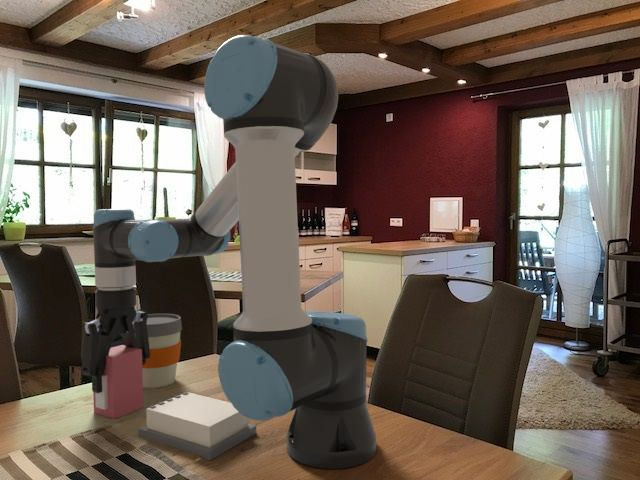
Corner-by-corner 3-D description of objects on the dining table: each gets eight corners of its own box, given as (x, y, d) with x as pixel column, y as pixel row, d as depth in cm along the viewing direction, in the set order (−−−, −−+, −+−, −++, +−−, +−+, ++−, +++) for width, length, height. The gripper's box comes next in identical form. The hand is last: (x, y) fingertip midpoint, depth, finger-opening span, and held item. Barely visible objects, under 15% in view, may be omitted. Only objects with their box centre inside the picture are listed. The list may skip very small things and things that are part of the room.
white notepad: (256, 433, 97) (256, 405, 97) (210, 460, 87) (209, 428, 86) (187, 414, 106) (187, 388, 106) (138, 436, 96) (138, 408, 95)
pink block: (143, 407, 109) (141, 348, 108) (113, 418, 103) (112, 357, 102) (123, 401, 112) (122, 344, 111) (93, 412, 106) (92, 352, 105)
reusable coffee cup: (194, 380, 127) (193, 317, 126) (151, 395, 116) (149, 327, 115) (158, 371, 134) (157, 311, 133) (114, 385, 123) (113, 320, 122)
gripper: (143, 280, 116) (145, 384, 118) (56, 292, 99) (60, 414, 101) (167, 282, 112) (169, 390, 114) (82, 296, 95) (85, 422, 97)
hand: (118, 401), depth 107 cm, fingers closed on pink block, 7 cm apart
